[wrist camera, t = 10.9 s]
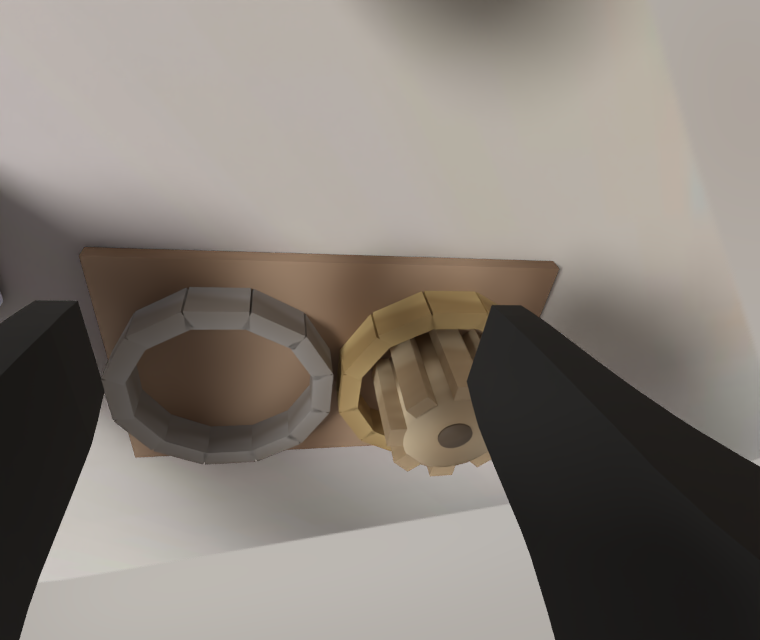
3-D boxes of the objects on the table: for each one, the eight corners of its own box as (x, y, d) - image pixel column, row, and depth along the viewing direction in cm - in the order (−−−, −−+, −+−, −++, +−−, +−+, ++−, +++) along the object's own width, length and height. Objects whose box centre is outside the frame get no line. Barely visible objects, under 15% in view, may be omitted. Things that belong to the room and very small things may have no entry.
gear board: (138, 447, 24) (127, 485, 22) (84, 246, 17) (63, 280, 15) (485, 430, 27) (498, 462, 26) (552, 261, 21) (576, 289, 19)
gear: (366, 408, 24) (380, 481, 20) (380, 319, 20) (399, 391, 17) (471, 404, 25) (499, 473, 21) (500, 320, 21) (539, 387, 18)
